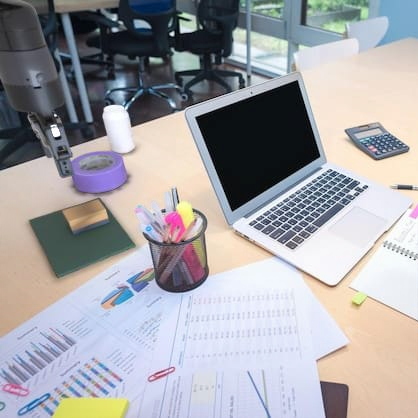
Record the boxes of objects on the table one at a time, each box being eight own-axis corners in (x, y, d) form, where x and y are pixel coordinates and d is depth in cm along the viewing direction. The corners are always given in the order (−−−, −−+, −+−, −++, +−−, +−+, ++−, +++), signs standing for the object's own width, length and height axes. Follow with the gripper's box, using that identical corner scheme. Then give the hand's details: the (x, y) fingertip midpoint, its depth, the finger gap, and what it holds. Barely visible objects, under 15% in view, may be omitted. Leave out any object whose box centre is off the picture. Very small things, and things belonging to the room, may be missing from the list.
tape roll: (75, 171, 98) (69, 153, 95) (125, 164, 102) (121, 147, 99) (73, 197, 89) (67, 178, 86) (129, 188, 94) (124, 170, 91)
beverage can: (124, 142, 111) (114, 102, 104) (140, 148, 110) (132, 107, 102) (106, 151, 107) (95, 109, 100) (123, 157, 105) (113, 115, 98)
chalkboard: (58, 278, 70) (57, 275, 70) (29, 222, 82) (28, 219, 81) (135, 246, 78) (135, 244, 78) (100, 199, 90) (99, 197, 89)
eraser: (73, 235, 79) (68, 221, 76) (66, 223, 81) (61, 210, 79) (109, 222, 83) (105, 209, 80) (102, 212, 85) (98, 199, 83)
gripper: (-9, 66, 63) (26, 155, 72) (11, 93, 55) (48, 190, 64) (44, 60, 67) (70, 145, 77) (70, 85, 59) (96, 176, 69)
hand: (60, 166), depth 70 cm, fingers open, 8 cm apart
